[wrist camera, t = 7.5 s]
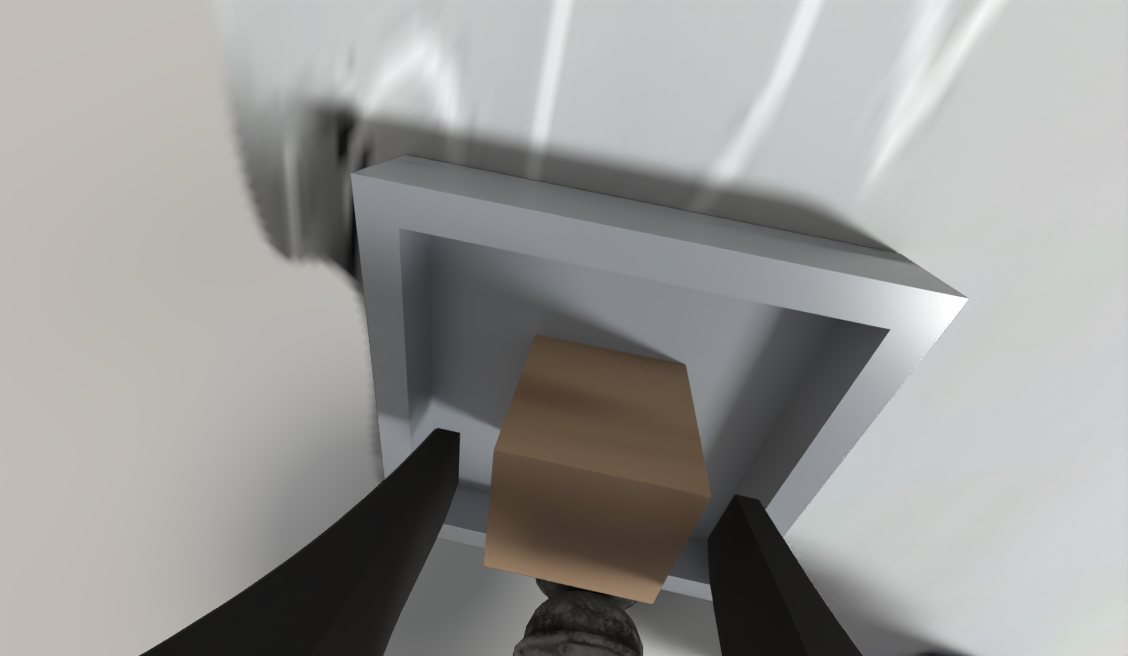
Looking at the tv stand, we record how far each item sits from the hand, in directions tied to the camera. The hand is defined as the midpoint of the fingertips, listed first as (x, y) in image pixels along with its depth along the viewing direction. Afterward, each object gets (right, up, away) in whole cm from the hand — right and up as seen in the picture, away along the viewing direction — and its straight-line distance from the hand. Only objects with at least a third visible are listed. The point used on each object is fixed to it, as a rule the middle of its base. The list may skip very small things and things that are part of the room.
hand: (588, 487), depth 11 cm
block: (0, +2, +3) cm, 3 cm away
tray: (0, +2, +3) cm, 4 cm away
